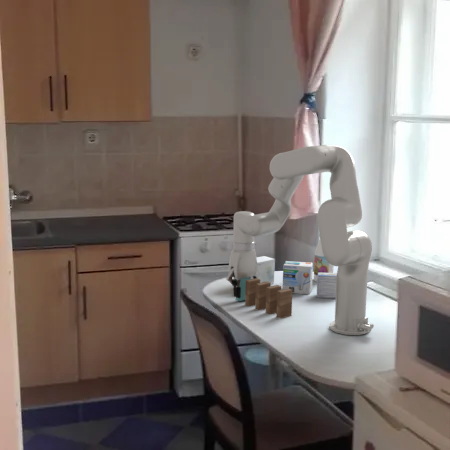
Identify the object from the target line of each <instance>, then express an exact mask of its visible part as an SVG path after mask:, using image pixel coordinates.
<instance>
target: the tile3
mask: <svg viewBox="0 0 450 450" xmlns="http://www.w3.org/2000/svg"><path fill="white" fill-rule="evenodd" d="M270 286H272V285H271V283H270V282H262V283H257V284H256V300H255V305H254V306H255V307H254V309H255V310H257V311H262V310H266V287H270Z"/></svg>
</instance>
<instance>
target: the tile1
mask: <svg viewBox="0 0 450 450" xmlns="http://www.w3.org/2000/svg"><path fill="white" fill-rule="evenodd" d="M292 313H293V293H292V290H291V289H284V290H282V289H281V290H279V291H277V313H276V318H278V319H284V318H287V317H292Z"/></svg>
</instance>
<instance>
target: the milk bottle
mask: <svg viewBox="0 0 450 450" xmlns="http://www.w3.org/2000/svg"><path fill="white" fill-rule="evenodd" d="M318 238H320V234H319V237H318ZM314 250H315V251H314V259H313V261H314V262H313V281H314V282H317V277H318V273H334V267H335V266H333V265H331V264H330V263H328V262H327V260H326V259H325V257H324V254H323V251H322V245H321V240H320V239H319V240H318V243H317V245H316V247H315V249H314Z"/></svg>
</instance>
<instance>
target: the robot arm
mask: <svg viewBox="0 0 450 450" xmlns="http://www.w3.org/2000/svg"><path fill="white" fill-rule="evenodd" d="M355 164H356V163H355V160H354V157H353V156H352V155H351V153H350V152H349V150H347V149H346V148H344V147H342V146H340V145H336V144H322V145H321V144H320V145H312V146H304V147H300V148H296V149H292V150H289V151H284V152H280V153H277V154H275V155H274V156H273V157H272V159H271V160H270V163H269V172H270V174H271V176H272V177H273V178H272V180H271V181H270V183H269V184H268V187H267V189H268V193H269V194H270V195H271V197H273V198H274V199H275V200H274V202H273V205H272V206H271V208H270V209H269V211H268V212H262V213H257V214H255V213H254V212H251V211H248V210H245V211H244V210H243V211H241V210H240V211H236V212H235V213H234V214H233V234H232V235H233V239H232V240H233V241H232V243H233V244H232V250H231V251H230V255H229V261H228V271H227V272H228V273H227V276H226V281H228V282H229V283H230V284H231V286H232V287H233V297H234V298H236V297H237V298H240V297H241V288H240V287H239V285H240V281H241V279H243V278H248V277H250V279H255V278H257V277H258V276H259V274H260V273H259V271H258V270H257V257H258V256H257V253H256V249H255V246H256V245H257V241H255V237H257V238H258V237H262V236H266V235H271V234H275V233H277V232H279V231H280V230H281V228H282V227H283V226H284V225H285V223H286V221H287V220H288V218H289V216H290V214H291V210H292V198H293V196H294V194H295V193H296V190H297V188H298V187H299V185H300V184H301V182H302V181H303V179H304V177H305V176H307V175H313V174H322V173H330V174H331V175H330V178H329V190H330V199H328V200H325V201H324V202H322V204H320V206H319V208H318V210H317V217H316V219H317V227H318V233H319V234H320V237H319V240H321V245H322V251H323V254H324V257H325V259H326V260H327V262H328V263H330V264H331V265H333V266H334V267H337V270H336V273H337V280H336V298H335V303H334V304H335V305H334V306H335V307H334V320H333V321H331V322H330V323H329V329H330V330H331V331H332V332H334V333H337V334H340V335H347V336H362V335H365V334H368V333H370V332H371V331H372V329H374V326H375V325H374V324H373V323H369V317H366V314H367V313H366V312H367V311H366V310H367V293H368V279H369V276H368V275H369V268H370V267H369V266H370V263H371V262H370V261H371V256H372V252H373V245H372V242H371V241H372V240H371V238H370V236H369V235H368V234H367V233H365V232H363V231H361V230H349V231H348V228H350V227H354V226H356V225H358V224H359V223H361V220H362V218H363V210H362V205H361V197H360V192H359V186H358V181H357V172H356V165H355ZM236 280H237V283H236Z"/></svg>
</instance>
